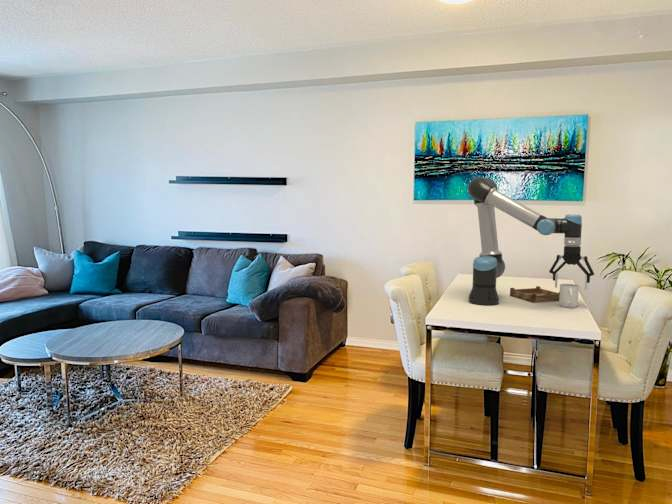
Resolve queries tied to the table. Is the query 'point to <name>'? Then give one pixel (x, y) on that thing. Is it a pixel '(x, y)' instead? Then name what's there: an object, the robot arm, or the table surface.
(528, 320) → the table surface
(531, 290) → the wooden tray
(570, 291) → the mug
